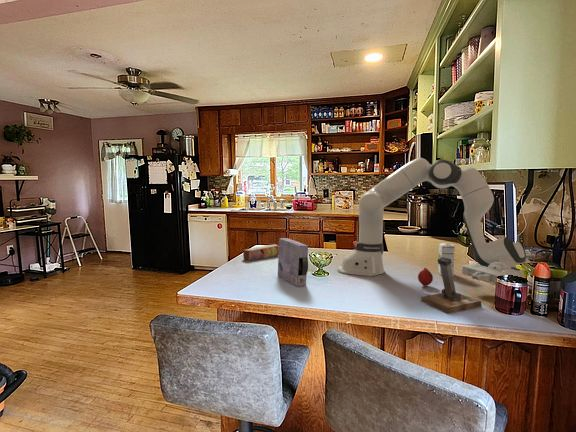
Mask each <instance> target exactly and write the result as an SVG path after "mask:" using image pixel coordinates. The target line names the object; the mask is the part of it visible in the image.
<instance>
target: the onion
mask: <svg viewBox="0 0 576 432" xmlns="http://www.w3.org/2000/svg"><path fill="white" fill-rule="evenodd" d="M433 279H434V277H433V274H432V272H431V271H430V270H429V269H428V268H427V267H424V268H423V270H421V271H419V273H418V275H417V280H418V282H419V283H420V284H421V285H422V286H423V287H427V286H429V285H431V284H432V282H433V281H434V280H433Z"/></svg>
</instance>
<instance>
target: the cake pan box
mask: <svg viewBox="0 0 576 432" xmlns="http://www.w3.org/2000/svg"><path fill="white" fill-rule="evenodd" d="M278 246H279V254H278V256H277V257H278V260H277V276H278V277H279V278H282V279H283V280H284V281H286V282H288V283H291V284H293V285H294V286H295V287H297V288H299V287H305V286H307V277H308V276H307V275H308V271H309V259H308V256H309V254H308V253H309V245H307V244H304V243H301V242H299V241H297V240H293V239H291V238H288V237H281V238H280V237H279V239H278Z"/></svg>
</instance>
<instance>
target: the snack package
mask: <svg viewBox="0 0 576 432" xmlns="http://www.w3.org/2000/svg"><path fill="white" fill-rule="evenodd" d="M278 254H279V244H276V243H274V244H267V245H262V246H258V247H252V248H246V249H243V256H242V257H243V260H244V261H247V262H250V261H255V260H261V259H266V258H267V259H268V258H273V257H274V258H275V257H278Z"/></svg>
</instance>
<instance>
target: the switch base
mask: <svg viewBox="0 0 576 432" xmlns="http://www.w3.org/2000/svg"><path fill="white" fill-rule="evenodd" d="M420 302H421V303H422V304H425V305H427V306H430V307H432V308H433V309H435V310H439V311H441V312H443V313H445V314H447V315H449V314H453V313H457V312H463V311H468V310H473V309H478V308H482V301H481V300H479V299H476V298H474V297H470V296H468V295H465V294H462V293H460V292H458V291H456V294H454V298H453V299H452V298H449V297H447V296H446V294H445V288H444V289H441V292H439V293H434V294H428V295H421V297H420Z"/></svg>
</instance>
